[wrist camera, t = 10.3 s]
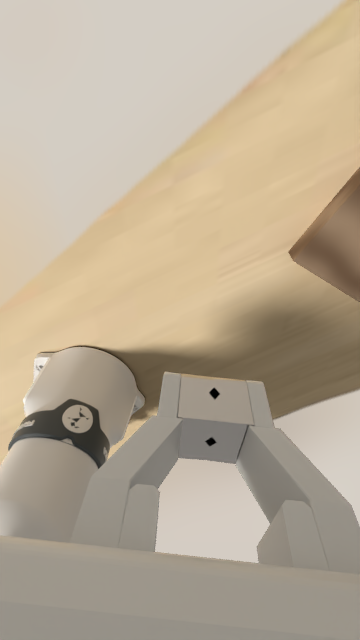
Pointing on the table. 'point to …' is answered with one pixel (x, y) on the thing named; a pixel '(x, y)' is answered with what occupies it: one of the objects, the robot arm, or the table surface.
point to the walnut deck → (335, 241)
